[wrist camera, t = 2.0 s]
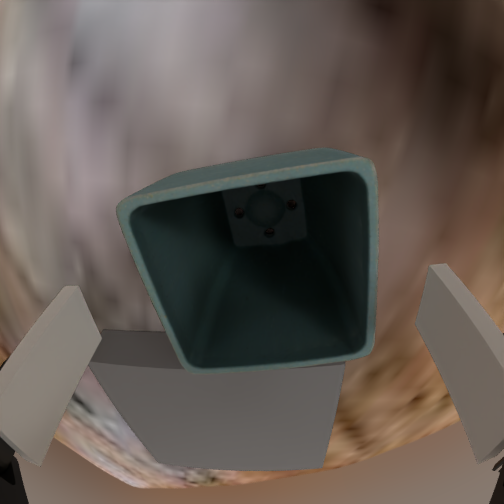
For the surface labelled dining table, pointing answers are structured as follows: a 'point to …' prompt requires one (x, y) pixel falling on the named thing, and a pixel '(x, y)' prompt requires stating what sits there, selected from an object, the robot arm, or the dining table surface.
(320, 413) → the plinth
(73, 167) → the dining table surface
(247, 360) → the flower pot
